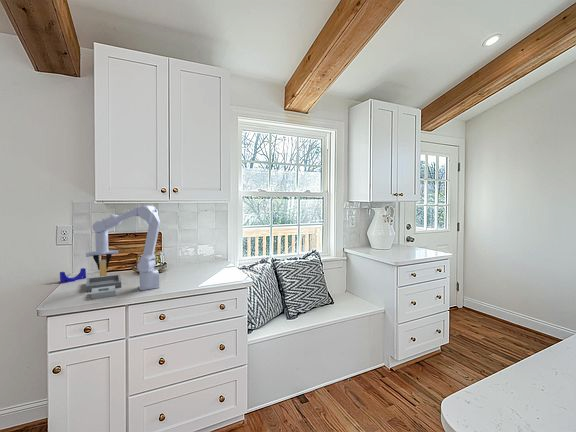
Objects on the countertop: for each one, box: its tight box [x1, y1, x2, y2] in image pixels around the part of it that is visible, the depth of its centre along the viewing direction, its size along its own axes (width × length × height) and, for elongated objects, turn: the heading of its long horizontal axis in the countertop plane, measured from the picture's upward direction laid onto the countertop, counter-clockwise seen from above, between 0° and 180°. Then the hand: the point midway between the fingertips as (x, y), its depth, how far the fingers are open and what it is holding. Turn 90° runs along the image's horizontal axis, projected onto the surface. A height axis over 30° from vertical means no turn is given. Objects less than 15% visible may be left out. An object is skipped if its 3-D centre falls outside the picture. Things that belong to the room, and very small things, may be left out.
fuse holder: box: [90, 286, 117, 300], centre depth 149 cm, size 10×10×2 cm
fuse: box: [99, 259, 108, 277], centre depth 159 cm, size 3×3×8 cm
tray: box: [84, 273, 122, 293], centre depth 165 cm, size 16×18×3 cm
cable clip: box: [59, 267, 87, 284], centre depth 175 cm, size 12×4×6 cm, turn 145°
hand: (103, 268), depth 159 cm, fingers closed on fuse, 3 cm apart
